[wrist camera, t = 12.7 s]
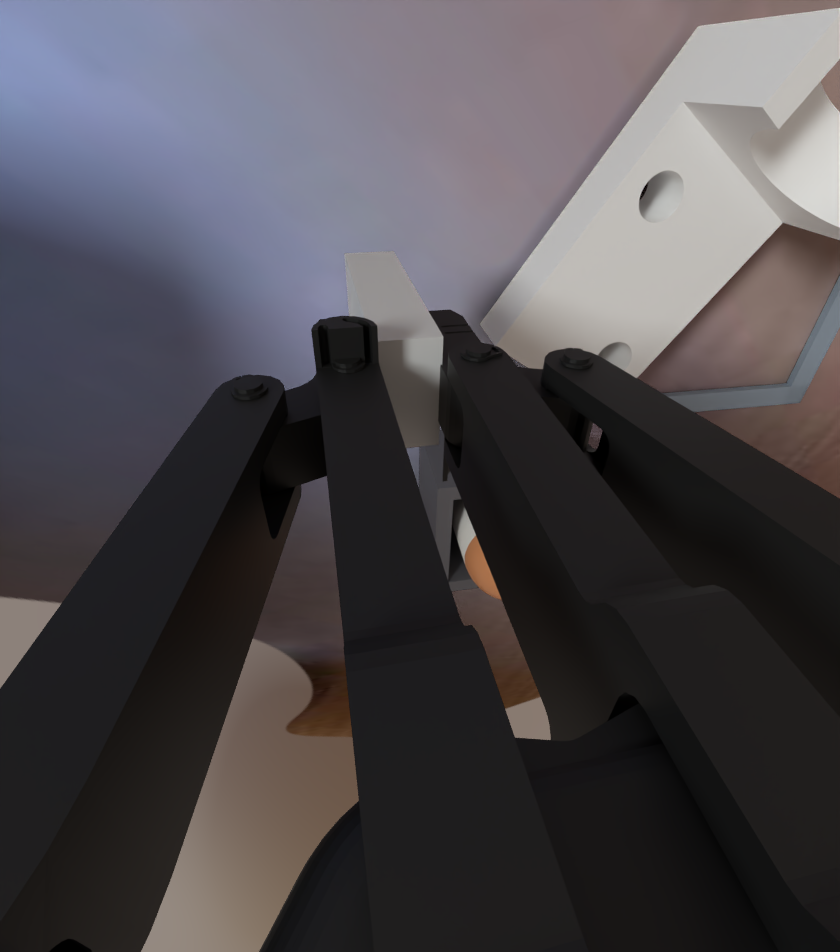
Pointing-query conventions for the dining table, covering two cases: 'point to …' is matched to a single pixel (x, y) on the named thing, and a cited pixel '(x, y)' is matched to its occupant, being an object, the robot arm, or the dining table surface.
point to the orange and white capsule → (472, 550)
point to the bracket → (685, 195)
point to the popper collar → (442, 513)
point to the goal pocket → (832, 318)
